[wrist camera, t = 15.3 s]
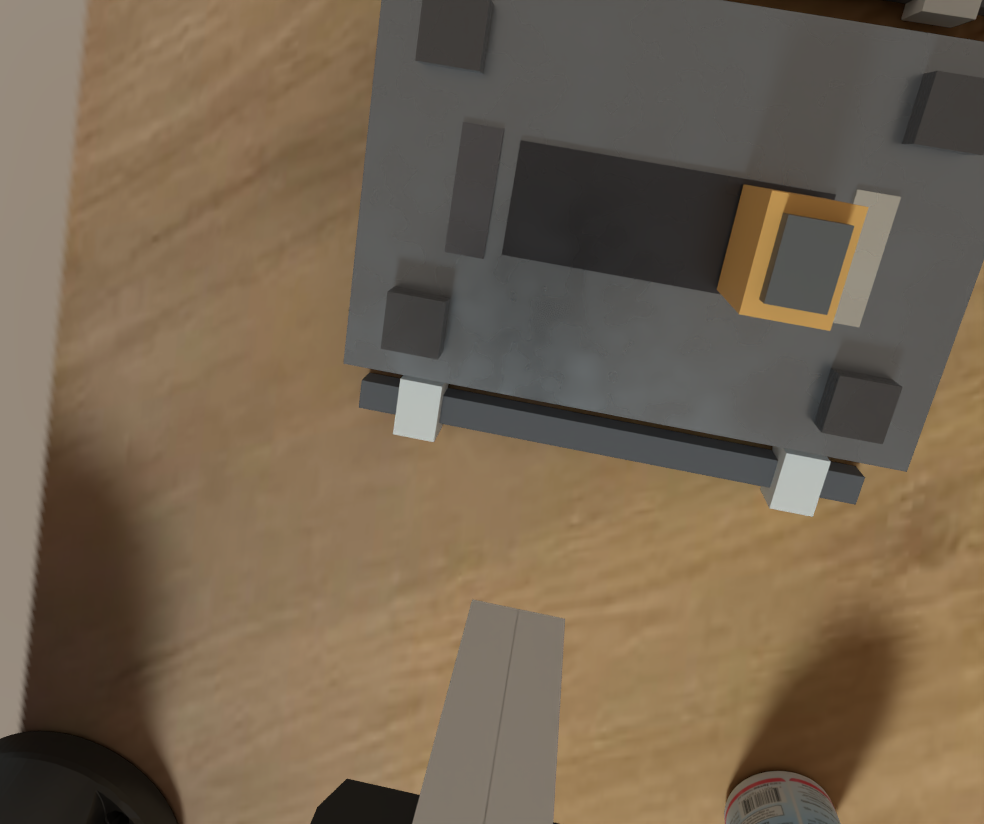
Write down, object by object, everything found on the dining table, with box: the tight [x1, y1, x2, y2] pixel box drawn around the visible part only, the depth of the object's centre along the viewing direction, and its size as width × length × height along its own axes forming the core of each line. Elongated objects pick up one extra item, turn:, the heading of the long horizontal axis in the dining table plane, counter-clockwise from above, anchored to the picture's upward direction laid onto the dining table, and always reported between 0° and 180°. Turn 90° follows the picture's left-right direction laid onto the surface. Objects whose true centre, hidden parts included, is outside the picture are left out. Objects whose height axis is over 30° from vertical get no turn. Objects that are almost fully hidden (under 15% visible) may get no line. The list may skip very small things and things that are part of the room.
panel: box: [344, 0, 984, 472], centre depth 33 cm, size 24×16×6 cm, turn 81°
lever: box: [717, 184, 869, 331], centre depth 28 cm, size 3×4×6 cm
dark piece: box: [359, 0, 984, 517], centre depth 34 cm, size 24×26×2 cm
